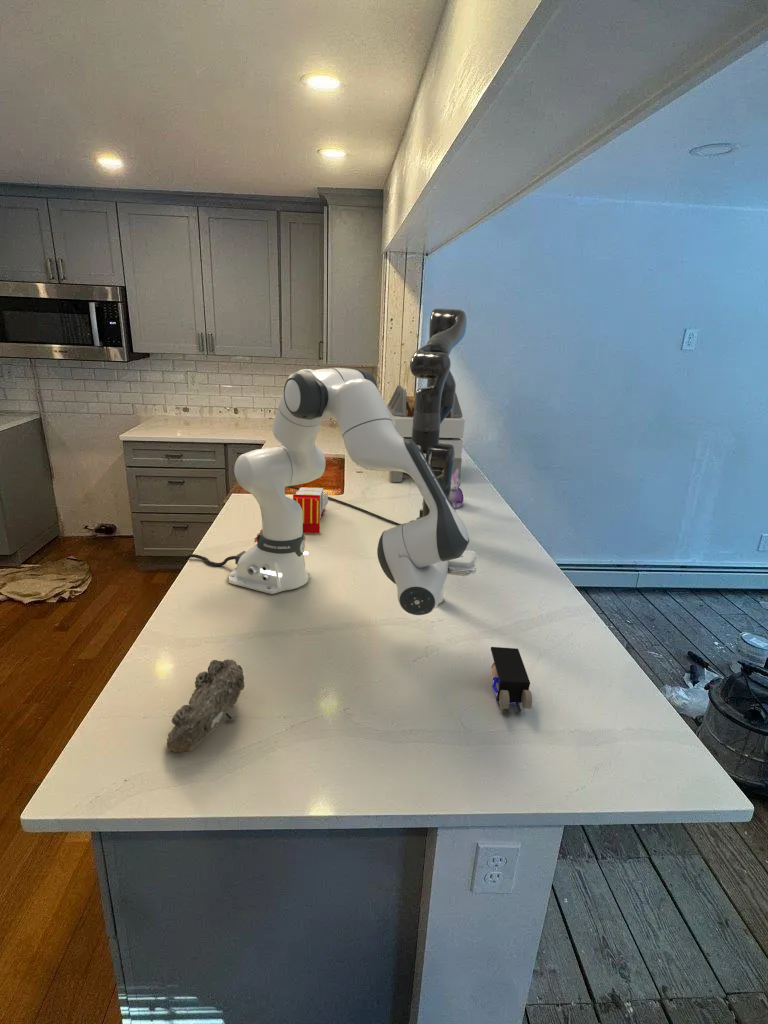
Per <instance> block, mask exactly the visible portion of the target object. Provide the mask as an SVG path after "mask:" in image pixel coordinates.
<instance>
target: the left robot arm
mask: <svg viewBox="0 0 768 1024" xmlns="http://www.w3.org/2000/svg"><path fill="white" fill-rule="evenodd" d="M333 419H334V420H335V419H336V421H337V422H338V427H339V430H340V433H341V438H342V441H343V444H344V447H345V450H346V452H347V454H348V457H349V458H350V460H351V461H352V462H353V463H354V464H355V465H357V466H359V467H360V468H362V469H364V470H365V469H366V470H369V471H376V472H390V471H401V472H403V473H405V474H408V475H409V476H410V477H411V479H412V480H413V482H414V484H415V485H416V487H417V489H418V491H419V492H420V494H421V496H422V499H423V498H424V500H425V502H426V504H427V506H428V507H429V509H430V513H429V514H428V515H427V516H425V517H422V518H419V519H417V518H416V519H413V520H414V521H412V520H410V521H411V522H410V521H408V522H405V523H402V524H401V523H400V524H401V525H396V526H393V527H390V528H388V529H385V530H383V532H382V533H381V535H380V537H379V539H378V542H377V549H376V555H377V560H378V563H379V565H380V567H381V570H382V572H383V573H384V575H385V576H386V577H387V579H389V580H390V581H391V582H392V583H393V584H394V585H395V587H396V591H397V592H396V593H397V600H398V603H399V606H400V608H402V610H404V611H405V612H406V613H408V614H410V615H414V616H423V615H424V616H425V615H427V614H431V612H433V611H434V610H435V609H436V608H437V606H438V605H439V604H440V603H439V602H440V599H441V597H442V594H443V595H444V591H443V590H445V583H446V581H447V577H448V575H451V576H458V577H469V576H471V575H472V574H473V575H474V574H475V573H476V571H477V567H476V562H477V553H476V552H475V551H473V550H469V549H467V548H468V546H469V543H470V538H469V531H468V528H467V526H466V524H465V523H464V520H463V519H462V518H461V516H460V515H459V513H458V512H457V511H456V508H453V506H452V504H451V503H450V501H449V499H448V497H447V495H446V494H445V492H444V490H443V488H442V486H441V484H440V483H439V481H438V479H437V475H436V474H435V472H434V470H432V468H431V466H430V465H429V463H428V461H427V459H426V458H425V456H424V454H423V453H422V451H421V450H420V448H419V447H418V446H417V445H416V443H415V442H414V441H412V440H411V439H405V438H403V437H402V436H401V435H400V434H399V433H398V432H397V430H396V429H395V427H394V425H393V422H392V419H391V417H390V414H389V411H388V409H387V404H386V402H385V400H384V398H383V396H382V394H381V393H380V391H379V388H378V384H377V380H376V379H375V377H374V375H373V374H372V373H371V372H369V371H367V370H365V369H362V368H357V367H356V368H355V367H354V368H345V367H329V368H319V369H311V368H303V369H300V370H298V371H295V372H292V373H291V374H289V376H288V377H287V379H286V381H285V383H284V387H283V393H282V395H281V398H280V401H279V403H278V407H277V410H276V414H275V417H274V419H273V423H272V433H273V436H274V438H275V440H276V441H277V442H278V443H279V444H280V445H278V446H273V447H264V448H256V449H254V450H250V451H247V452H245V453H242V454H240V455H238V457H237V459H236V461H235V463H234V468H233V471H234V472H233V473H234V477H235V480H236V482H237V483H238V485H239V486H240V487H241V488H242V489H243V490H245V491H246V492H248V493H250V495H252V496H253V498H254V499H255V500H256V503H258V506H259V510H260V515H261V529H260V531H259V532H258V533H257V534H256V537H254V539H253V540H254V542H253V543H256V544H254V545H253V546H252V547H250V548H249V549H247V550H242V551H241V552H239V553H238V554H235V555H230V556H228V557H226V558H225V559H224V560H223V561H222V562H216V561H215V562H214V561H211V560H210V559H209V558H207V557H206V556H203V555H201V554H200V555H199V554H197V553H190V554H187V555H186V556H184V557H183V560H189V559H191V558H193V559H194V558H195V559H199V560H202V561H204V562H205V563H206V564H208V565H209V566H213V567H223V566H225V565H226V564H227V563H228V561H231V560H232V561H233V560H234V562H235V563H234V564H235V565H236V567H235V568H234V569H233V570H232V571H231V572H230V573H229V575H228V583H229V584H232V585H235V586H239V587H242V588H246V589H249V590H250V589H251V590H254V591H258V592H262V593H266V594H269V595H275V594H278V593H281V592H283V591H290V590H291V591H292V590H294V589H298V588H301V587H303V586H304V585H306V584H307V583H308V582H309V579H310V577H309V575H308V571H307V567H306V561H305V556H306V555H309V552H308V551H305V548H306V541H305V533H304V532H303V515H302V508H301V506H300V505H299V503H298V502H296V501H295V500H293V498H291V497H287V495H286V493H285V492H286V488H289V487H288V486H293V487H295V486H299V485H304V484H308V483H311V482H313V481H316V480H317V479H320V478H321V477H322V476H323V475H324V473H325V469H326V467H327V466H326V465H327V464H326V462H327V461H326V457H325V454H324V452H323V450H322V449H321V448H320V447H319V446H318V445H316V438H317V436H318V432H319V431H320V430H319V429H320V427H321V424H322V421H323V420H333ZM438 603H439V604H438Z"/></svg>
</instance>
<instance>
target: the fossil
mask: <svg viewBox="0 0 768 1024" xmlns="http://www.w3.org/2000/svg"><path fill="white" fill-rule="evenodd" d="M243 670H244V669H243V667H242V665H240V664H237V662H236V661H235V660H234V659H232V658H231V659H227V658H226V659H224V660H223V661H222V660H217V659H212V660H211V661H210V663H209V665H208V666H207V671H201V672H199V673H198V674H197V675H196V676H195V680H194V684H195V685H194V687H195V689H194V690H193V693H192V694H191V697H190V698H189V700H188V704H184V705H182V706H181V707H180V709H177V710H176V711H175V713H174V715H173V716H172V718H171V723H172V724H173V727H172V730H171V731H170V732H168V734H167V738H166V741H167V742H166V745H167V749H168V750H169V751H173V752H174V753H176V754H178V753H182V752H188V751H189V752H192V751H193V750H195V748H196V747H197V746H199V744H200V743H201V742H203V741H204V740H205V739H206V738H207V737H208V736H209V735H210V734H211V733H212V732H214V730H215V729H217V727H218V726H219V724H220V722H221V721H222V720H223V719H224V718H225V716H226V717H227V719H229V720H233V717H232V715H230V714H229V710H230V709H231V708H234V706H235V704H236V703H237V702H238V699H239V697H240V695H241V693H242V691H243V690H245V689H244V688H245V675H244V671H243Z"/></svg>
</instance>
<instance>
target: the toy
mask: <svg viewBox="0 0 768 1024" xmlns="http://www.w3.org/2000/svg"><path fill="white" fill-rule="evenodd" d="M299 488H300V489H299V490H297V491H296V492H295V494H292V499H293V500H295V501H296V502H298V503H299V505H300V506H301V508H302V515H303V532H304V534H320V533H321V532H320V530H321V528H320V524H321V523H320V522H321V517H324V513H325V511H326V506H327V505H328V504H329V499H328V497H329V492H328V491H326V492H325V493H324V491H325V489H324V487H308V486H307V487H306V486H305V487H303V486H301V487H299ZM323 495H324V496H323Z"/></svg>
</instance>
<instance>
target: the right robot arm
mask: <svg viewBox="0 0 768 1024" xmlns="http://www.w3.org/2000/svg"><path fill="white" fill-rule="evenodd" d="M467 319H468V318H467V314H466V312H465V311H464V310H462V309H457V308H441V307H440V308H439V307H438V308H437V307H436V308H434V309H432V311H431V313H430V318H429V328H428V331H429V332H428V334H429V335H428V336H429V337H428V338H429V339H428V341H427V342H426V344H425V345H424V346H422V347H420V348H418V349H416V351H415V352H414V353H413V355H412V356H411V358H410V361H409V370H410V373H411V374H412V375H413V377H415V378H417V379H421V380H422V379H424V380H427V382H426V387H420V388H419V387H418V388H417V389H416V391H415V395H414V396H415V410H414V416H413V427H412V441H414V442H415V443H416V445H419V446H420V450H421V451H422V453H423V454H424V456H425V458H426V459H427V461H428V463H429V465H430V466H431V468H432V470H433V471H437V472H440V471H443V473H442V474H441V473H440V474H439V475H436V477H437V479H438V481H439V483H440V484H441V486H442V488H443V490H444V492H445V494H446V495H447V497H448V499H449V501H450V493H451V480H452V471H453V464H454V457H455V449H454V446H453V445H452V444H444V443H439V432H440V424H441V423H442V421H443V420H444V419H445V418H446V416H447V415H448V414H449V412H450V411H451V409H452V408H453V406H454V402H455V393H456V389H457V384H456V380H455V378H454V375H453V373H452V371H451V367H452V366H451V365H452V362H451V358H450V355H451V352H452V350H453V349H454V348H455V347H456V346H457V345H458V344H459V343H460V342H461V341H462V340H463V338H464V337H465V334H466V331H467V324H468V322H467ZM287 488H290V489H294V490H296V491H298V490H299V489H300V488H301V487H297V486H288V487H287ZM323 496H324V494H323ZM328 500H330V501H334V502H337V503H339V504H342V505H345V506H347V507H351V508H353V509H356V510H358V511H361V512H363V513H366V514H369V515H371V516H374V517H376V518H379V519H380V520H383V521H386V522H388V523H391V524H393V525H396V526H398V525H401V523H399V522H396V521H394V520H391V519H389V518H386V517H383V516H381V515H380V514H379V515H378V514H376V513H373V512H371V511H369V510H366V509H364V508H362V507H359V506H356V505H353V504H351V503H348V502H346V501H343V500H339V499H337V498H334V497H330V496H328ZM429 513H430V509H429V507H428V506H427V504H426V502H425V500H424V498H423V497H422V506H421V508H420V509H419V516H418V517H416V519H419V518H422V517H425V516H427V515H428V514H429ZM414 520H415V519H412V520H409V522H411V521H414Z"/></svg>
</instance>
